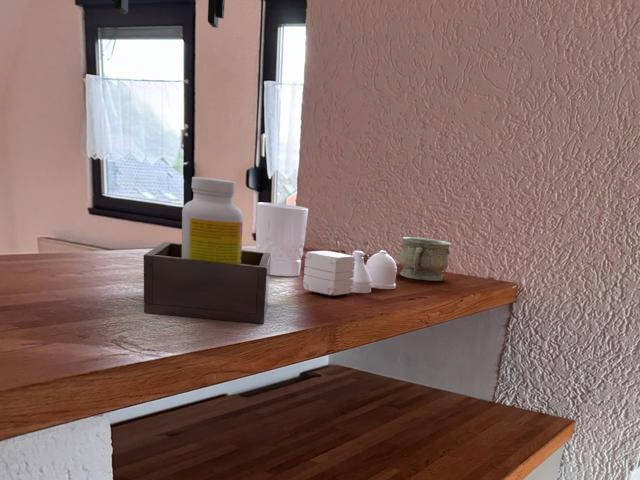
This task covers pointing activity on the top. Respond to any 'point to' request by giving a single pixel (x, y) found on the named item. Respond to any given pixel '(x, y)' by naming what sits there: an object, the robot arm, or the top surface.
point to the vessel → (424, 258)
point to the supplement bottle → (212, 222)
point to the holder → (206, 285)
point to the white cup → (281, 236)
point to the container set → (348, 272)
